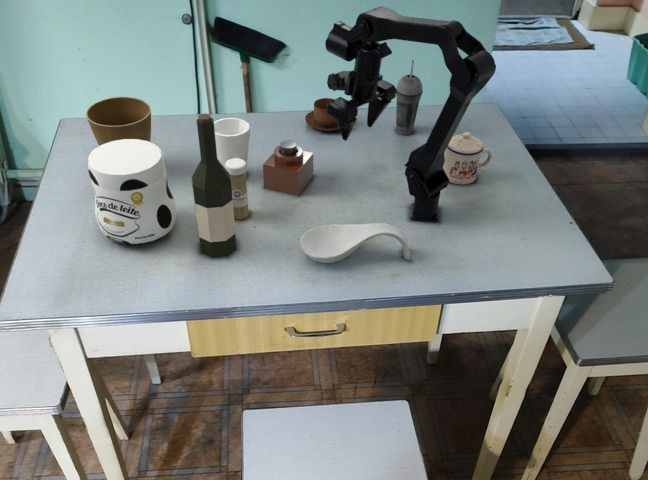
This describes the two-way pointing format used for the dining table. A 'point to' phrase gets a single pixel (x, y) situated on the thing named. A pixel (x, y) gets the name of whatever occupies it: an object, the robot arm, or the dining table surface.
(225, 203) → the wine bottle
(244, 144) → the foam cup
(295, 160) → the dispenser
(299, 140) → the dining table surface
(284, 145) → the dark grey short cylinder
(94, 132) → the plant pot
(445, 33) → the robot arm
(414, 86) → the beverage cup
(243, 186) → the sprinkles bottle
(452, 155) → the teacup with lid
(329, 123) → the cup and saucer
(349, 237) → the spoon rest
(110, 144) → the milk container
